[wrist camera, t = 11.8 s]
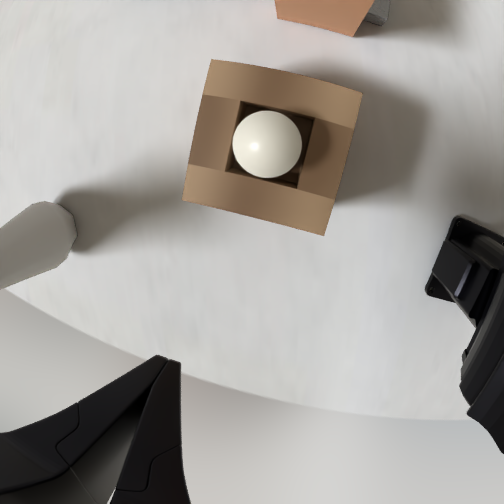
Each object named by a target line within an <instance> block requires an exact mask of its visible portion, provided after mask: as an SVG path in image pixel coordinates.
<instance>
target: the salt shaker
mask: <svg viewBox="0 0 504 504" xmlns="http://www.w3.org/2000/svg"><path fill="white" fill-rule="evenodd" d="M76 237H77V231H76V227H75V222H74V218H73V215H72V214H71V213H69V212H68V211H67V210H66V209H64V208H63V207H62V206H61V205H59V204H54V203H50V202H46V201H44V202H38V203H35V204H32V205H30V206H29V207H27V208H26V209H25V210H23V211H22V212H21V213H19V214H18V215H17V216H15V217H14V218H13V219H11V220H10V221H9V222H8V223H6V224H5V225H4V226H2V227H1V228H0V289H3V288H5V287H8V286H10V285H13V284H15V283H18V282H20V281H23V280H25V279H28V278H30V277H33V276H36V275H38V274H41V273H43V272H46V271H49V270H51V269H54V268H57V267H58V266H59V265H60V264H61V263H62V262H63V261H64V260H65V259H66V258H67V257H68V254H69V252H70V249H71V247H72V244H73V242H74V240H75V239H76Z"/></svg>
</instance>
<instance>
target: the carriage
mask: <svg viewBox="0 0 504 504" xmlns="http://www.w3.org/2000/svg"><path fill="white" fill-rule="evenodd" d="M374 1H375V0H275V5H276V12H277V18H278V19H282V20H287V21H292V22H297V23H302V24H306V25H311V26H315V27H319V28H323V29H327V30H330V31H334V32H338V33H341V34H344V35H348V36H351V37H353V35H354V34H355V32H356V30H357V29H358V27H359V25H360V24H361V22H362V21H363V19H364V17H365V16H366V14H367V12H368V11H369V9H370V7H371V6H372V4H373V2H374Z"/></svg>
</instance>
